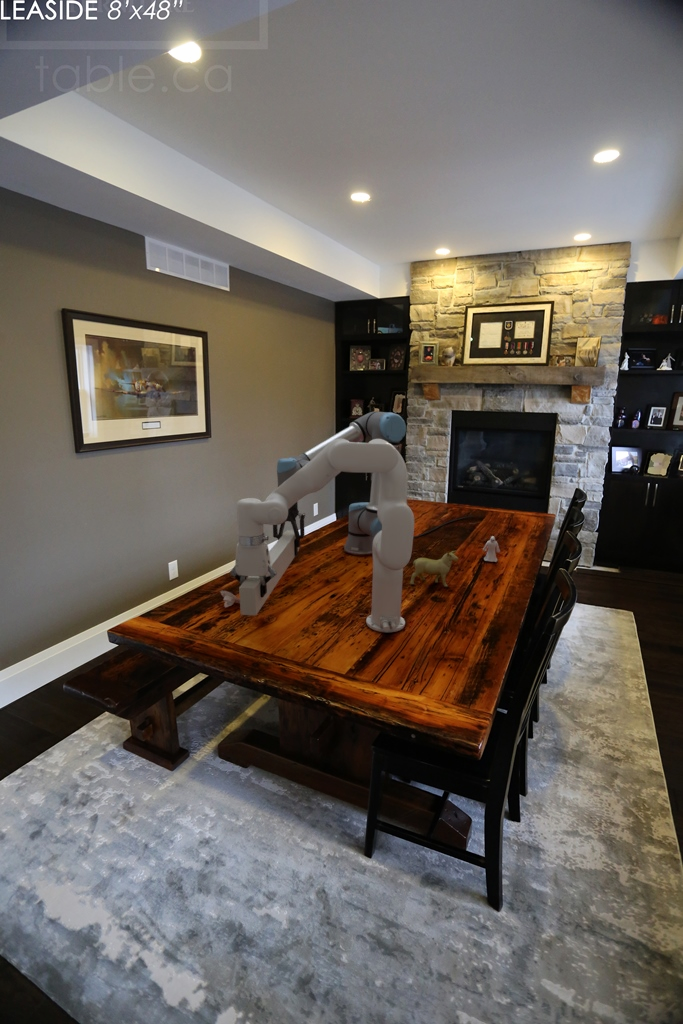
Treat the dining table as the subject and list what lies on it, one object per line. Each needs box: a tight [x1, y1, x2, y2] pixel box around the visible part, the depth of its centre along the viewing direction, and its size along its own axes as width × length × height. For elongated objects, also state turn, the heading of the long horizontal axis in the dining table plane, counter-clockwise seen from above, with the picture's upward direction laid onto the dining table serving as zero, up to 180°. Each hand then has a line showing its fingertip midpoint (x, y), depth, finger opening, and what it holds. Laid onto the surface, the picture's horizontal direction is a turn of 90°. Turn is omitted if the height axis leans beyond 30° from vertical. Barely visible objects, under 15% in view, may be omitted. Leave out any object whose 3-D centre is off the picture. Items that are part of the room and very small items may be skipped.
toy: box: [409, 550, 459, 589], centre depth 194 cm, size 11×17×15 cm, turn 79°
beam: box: [238, 529, 300, 616], centre depth 178 cm, size 61×5×9 cm, turn 173°
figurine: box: [482, 535, 501, 563], centre depth 223 cm, size 8×8×12 cm
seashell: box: [219, 590, 240, 609], centre depth 173 cm, size 8×5×8 cm
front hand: (254, 594), depth 155 cm, fingers closed on beam, 4 cm apart
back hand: (289, 554), depth 202 cm, fingers closed on beam, 5 cm apart
